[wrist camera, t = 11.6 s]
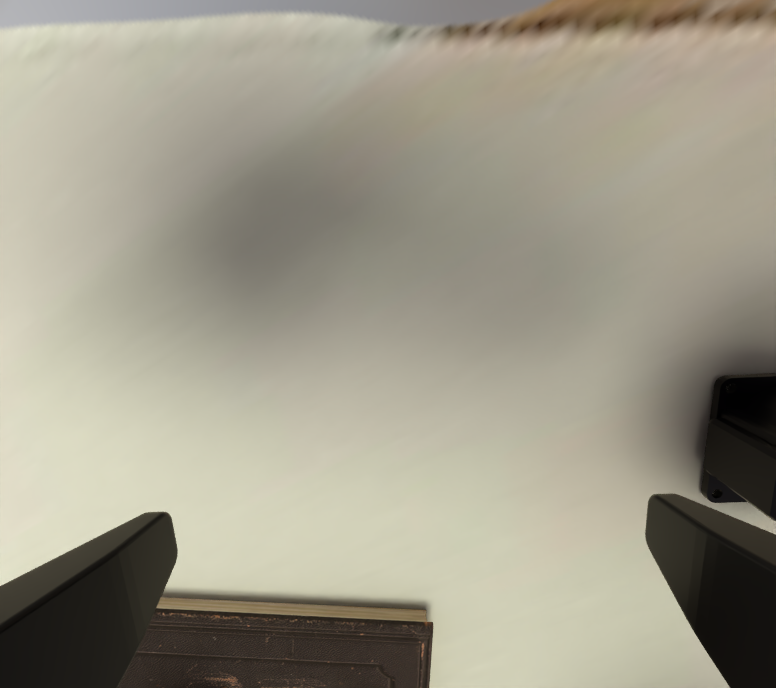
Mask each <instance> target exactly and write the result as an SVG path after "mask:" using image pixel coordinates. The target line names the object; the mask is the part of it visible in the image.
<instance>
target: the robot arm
mask: <svg viewBox="0 0 776 688" xmlns="http://www.w3.org/2000/svg"><path fill="white" fill-rule="evenodd" d="M728 384H730V388H729V389H728V390H726V389H725V388H726V386H727V385H728ZM716 489H717V490H716ZM701 490H702V494H703V496H704V497H706V498H707V499H708V500H709V501H711V502H714V503H726V502H749V503H750V504H752V505H753V506H754V507H756V508H757V509H758V510H760V511H761V512H762V513H764V514H765V515H767V516H768V517H769V518H771V519H772V520H774V521H776V373H773V374H750V375H726V376H722V377H720V378H719V379H718V380H717V381H716V382H715V385H714V391H713V399H712V407H711V415H710V422H709V426H708V435H707V443H706V451H705V459H704V473H703V481H702V489H701ZM714 490H716V492H715V493H713V491H714ZM712 493H713V494H712ZM645 535H646V542H647V545H648V547H649V550H650V551H651V553H652V555H653V557H654V559H655V561H656V563H657V565H658V566H659V568H660V570H661V572H662V574H663V576H664V578H665V579H666V581H667V583H668V585H669V587H670V589H671V591H672V593H673V594H674V596H675V598H676V600H677V602H678V604H679V606H680V607H681V609H682V611H683V613H684V615H685V617H686V619H687V620H688V622H689V624H690V626H691V627H692V629H693V631H694V633H695V634H696V636H697V637H698V639H699V640H700V642H701V644H702V645H703V647H704V648H705V650H706V651H707V653H708V654H709V656H710V658H711V659H712V661H713V662H714V664H715V665H716V667H717V668H718V670H719V671H720V673H721V674H722V676H723V677H724V679H725V680H726V682H727V683H728V685H729V686H730V688H776V535H775V534H773V533H770V532H768V531H765V530H763V529H761V528H758V527H756V526H753V525H751V524H748V523H746V522H743V521H741V520H739V519H736V518H734V517H731V516H729V515H726V514H724V513H722V512H719V511H717V510H714V509H712V508H709V507H707V506H704V505H702V504H700V503H697V502H695V501H692V500H690V499H687V498H685V497H682V496H680V495H677V494H654V495H652V496H651V497H650V498H649V501H648V509H647V520H646V532H645ZM176 559H177V544H176V538H175V533H174V528H173V523H172V519H171V516H170V514H168V513H167V512H148V513H144V514H142V515H140V516H138V517H136V518H134V519H132V520H130V521H128V522H126V523H124V524H122V525H120V526H118V527H116V528H114V529H112V530H110V531H108V532H106V533H104V534H102V535H100V536H98V537H96V538H94V539H93V540H91V541H89V542H87V543H85V544H83V545H81V546H79V547H77V548H75V549H73V550H71V551H69V552H67V553H65V554H63V555H61V556H59V557H57V558H55V559H53V560H51V561H49V562H47V563H45V564H43V565H41V566H39V567H37V568H35V569H33V570H31V571H29V572H27V573H25V574H23V575H21V576H19V577H17V578H16V579H14V580H12V581H10V582H8V583H6V584H4V585H2V586H0V688H117V687H118V685H119V684H120V682H121V680H122V678H123V676H124V674H125V672H126V671H127V669H128V667H129V665H130V663H131V661H132V659H133V657H134V655H135V654H136V652H137V650H138V648H139V646H140V644H141V641H142V639H143V637H144V635H145V633H146V631H147V628H148V626H149V624H150V621H151V619H152V617H153V614H154V612H155V610H156V607H157V605H158V603H159V600H160V598H161V596H162V593H163V591H164V589H165V586H166V584H167V582H168V579H169V577H170V575H171V572H172V570H173V568H174V566H175V563H176Z"/></svg>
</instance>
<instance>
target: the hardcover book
mask: <svg viewBox="0 0 776 688" xmlns="http://www.w3.org/2000/svg"><path fill="white" fill-rule="evenodd" d="M432 638H433V622H427V619H426V610H415V609H394V608H374V607H353V606H332V605H312V604H291V603H270V602H250V601H229V600H208V599H187V598H167V597H161V598H160V600H159V603H158V605H157V607H156V610H155V612H154V614H153V617H152V619H151V621H150V624H149V626H148V628H147V631H146V633H145V635H144V637H143V639H142V641H141V644H140V646H139V648H138V650H137V652H136V654H135V655H134V657H133V659H132V661H131V663H130V665H129V667H128V669H127V671H126V672H125V674H124V676H123V678H122V680H121V682H120V684H119V685H118V687H117V688H223V687H225V686H226V688H429V682H430V667H431V652H432Z"/></svg>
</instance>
